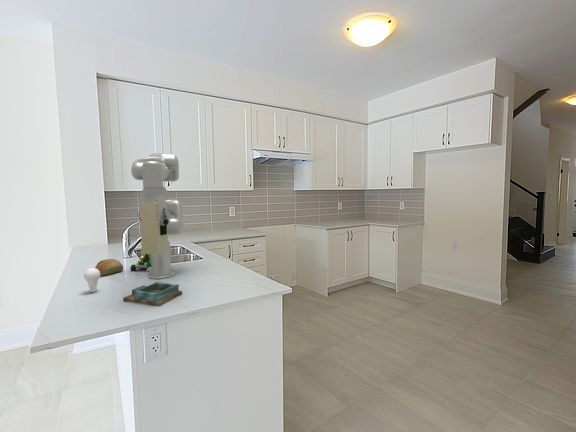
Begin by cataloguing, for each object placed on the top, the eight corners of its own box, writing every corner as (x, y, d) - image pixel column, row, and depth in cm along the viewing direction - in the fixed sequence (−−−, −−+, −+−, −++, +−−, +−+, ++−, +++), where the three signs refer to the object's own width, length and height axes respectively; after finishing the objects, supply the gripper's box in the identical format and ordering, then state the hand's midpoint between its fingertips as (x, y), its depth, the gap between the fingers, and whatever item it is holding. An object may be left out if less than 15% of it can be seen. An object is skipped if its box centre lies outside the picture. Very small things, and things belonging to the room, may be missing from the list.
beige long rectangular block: (170, 250, 124) (168, 201, 122) (157, 254, 117) (154, 202, 115) (155, 249, 126) (152, 201, 124) (141, 252, 119) (139, 201, 117)
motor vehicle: (130, 272, 163) (129, 254, 162) (144, 264, 182) (143, 247, 181) (151, 272, 164) (150, 253, 163) (163, 263, 183) (162, 247, 182)
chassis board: (123, 301, 120) (122, 290, 120) (149, 290, 133) (148, 280, 133) (158, 306, 114) (157, 295, 114) (181, 294, 128) (181, 284, 127)
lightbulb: (84, 295, 127) (82, 270, 126) (86, 291, 132) (84, 267, 131) (100, 293, 130) (99, 269, 129) (102, 289, 135) (100, 265, 134)
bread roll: (89, 276, 155) (88, 261, 155) (116, 269, 169) (115, 256, 168) (100, 278, 151) (100, 263, 151) (127, 271, 165) (126, 257, 164)
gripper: (129, 192, 118) (131, 234, 120) (164, 192, 113) (166, 236, 115) (143, 191, 125) (145, 231, 127) (177, 192, 120) (178, 234, 122)
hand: (155, 234), depth 121 cm, fingers closed on beige long rectangular block, 8 cm apart
